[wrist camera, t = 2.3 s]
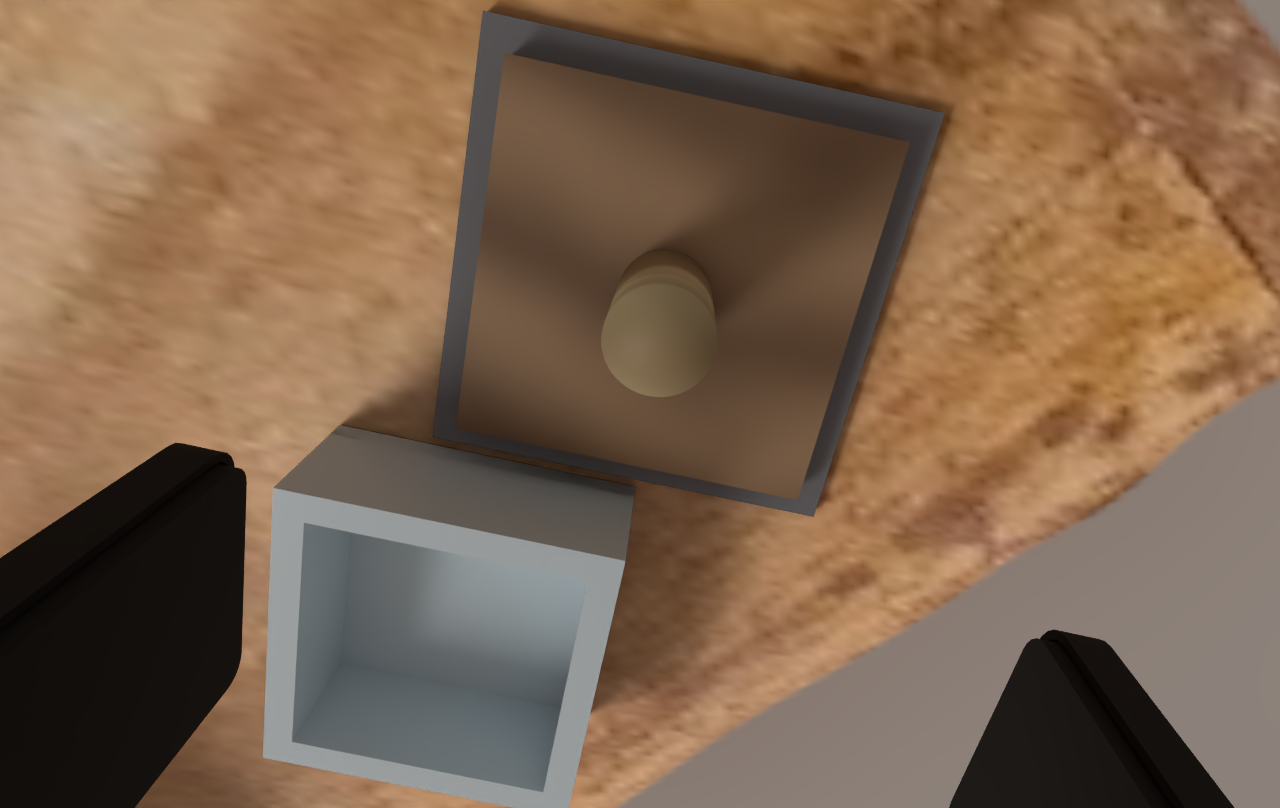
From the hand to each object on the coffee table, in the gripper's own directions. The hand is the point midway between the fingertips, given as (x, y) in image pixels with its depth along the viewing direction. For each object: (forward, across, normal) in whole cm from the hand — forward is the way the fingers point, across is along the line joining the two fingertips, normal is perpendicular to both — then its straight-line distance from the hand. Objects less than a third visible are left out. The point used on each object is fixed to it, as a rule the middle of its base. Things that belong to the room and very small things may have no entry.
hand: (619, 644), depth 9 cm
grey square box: (+18, +5, +13) cm, 23 cm away
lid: (+18, 0, 0) cm, 18 cm away
